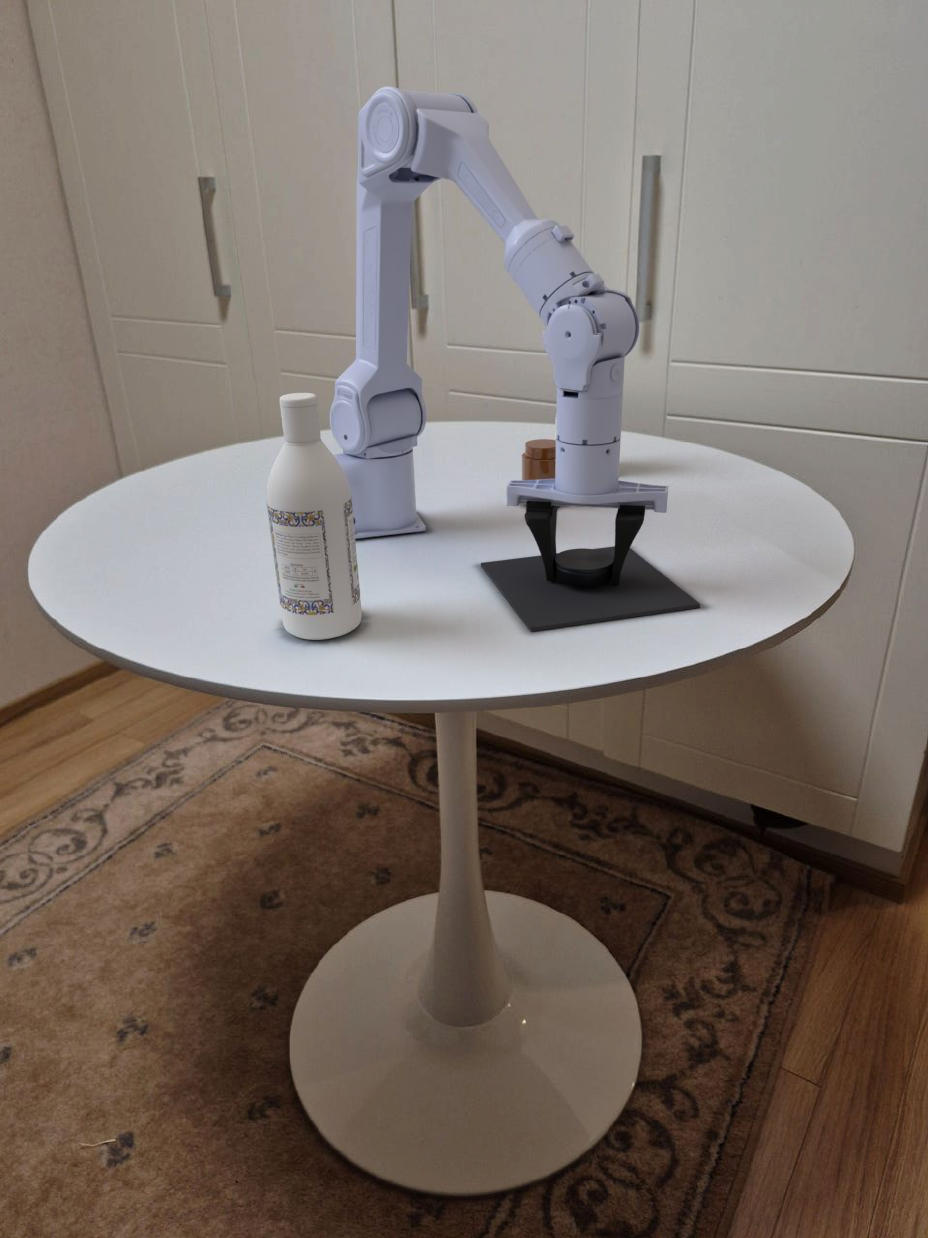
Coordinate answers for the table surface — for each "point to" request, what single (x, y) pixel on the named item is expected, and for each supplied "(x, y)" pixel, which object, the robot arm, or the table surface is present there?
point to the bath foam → (312, 529)
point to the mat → (585, 593)
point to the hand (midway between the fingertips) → (583, 579)
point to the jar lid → (583, 567)
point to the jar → (539, 460)
